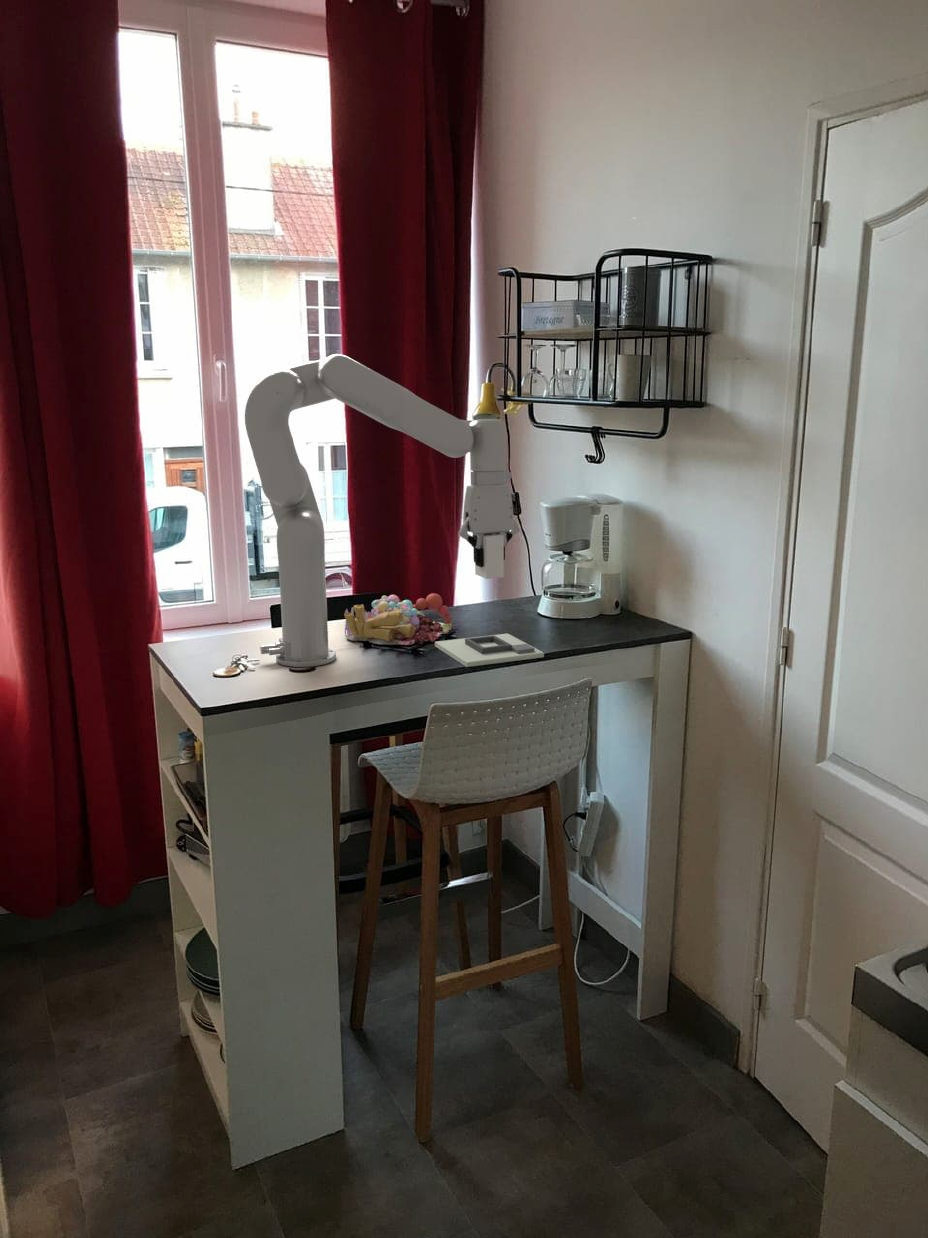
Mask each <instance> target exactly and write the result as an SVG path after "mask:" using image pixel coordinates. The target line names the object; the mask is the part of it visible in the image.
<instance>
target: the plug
mask: <svg viewBox="0 0 928 1238" xmlns="http://www.w3.org/2000/svg"><path fill="white" fill-rule="evenodd" d="M482 548H483V550H484V566H483V567H479V566H476V565H475V564H474V565H475V566H474V567H475V568H474V570H475V573H474V575H476V576H479V577H481V578H484V579H487V580H488V579H489V580H491V579H498V578H504V577H505V573H504V572H505V566H504V565H505V560H504V540H503V535H501V534H498V533H489V534H483V539H482Z"/></svg>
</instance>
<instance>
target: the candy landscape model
mask: <svg viewBox="0 0 928 1238" xmlns="http://www.w3.org/2000/svg"><path fill="white" fill-rule="evenodd" d="M371 607H372V609H371V611H367V610H366V609H365V606H364V604H363V603H362V604H355V605H353V607H351V610H350V612H349V611H348V608H346V609H345V611H344V614H343V615H344V618H345V625H344V635H345V637H346V638H345V639H347V640H349V641H352V642H353V641H355V642H356V641H357V642H358V641H359V642H369V643H372V644H375V645H376V644H377V645H392V646H393V645H403V646H404V645H405V646H409V645H413V644H416V643H417V644H420V645H423V644H424V642H428V641H427V640H430V641H429V642H432V643H433V642H436V641H437V640H438V639H439V638H438V636H441V635H440V634H439V633H446V632H448V631H449V630H450V631H451V630H452V623H451V622H452V616H451V615H449V613H450V612H449V607H448V605H443V598H442V597H441V595H440V594H438V593H435V592H434V593H433V592H432V593H430V594H428V595H427V596H426V598H423V597H421V598H418V599H417V600H416V602H415V604H413V603H412V601H411V600H409V599H405V600H401V599H400V598H399V596H397V595H396V594H390V595H389V596H387V595H382V596H381V598H380V599H375V600H373V601H372V602H371ZM426 608H427V609H429V610H430V611H437V614H438V616H440V617H442V618H443V622H439V621H434V620H433V619H431V618H430V617H428V616H426V615H425V614H424V613H423V612H422V611H419V610H424V609H426ZM354 613H355V615H354ZM450 631H449V632H450ZM436 639H437V640H436Z"/></svg>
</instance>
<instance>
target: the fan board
mask: <svg viewBox="0 0 928 1238" xmlns="http://www.w3.org/2000/svg"><path fill="white" fill-rule="evenodd" d="M434 647H435V648H437V649H438V650H440V651H442V652H443V653H445V654H446V655H448V656H449V657H451V658H452V659H454V660H456V661H457V662H458V663H460V664H461V665H463V666H464V667H465V668H469V667H479V666H485V665H492V664H493V665H494V664H502V663H508V662H515V661H523V660H524V661H525V660H533V659H541V658H542V659H543V658H545V652H543V651H541V650H539V649H538V648H536V647H534V646H532V645H530V644H529V643H527V642H525V641H523V640H521V639H519V638H518V637H515V636H513V635H512V634H509V633H501V634H499V633H498V634H490V635H485V636H483V635H482V636H481V635H480V636H474V637H465V638H455V639H447V640H439V641H438V640H436V641H434Z"/></svg>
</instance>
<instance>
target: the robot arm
mask: <svg viewBox="0 0 928 1238" xmlns="http://www.w3.org/2000/svg"><path fill="white" fill-rule="evenodd" d="M334 399H336V400H338V401H339V402H341V403H343V404H345V405H346V406H349V407H350V408H352V409H354V410H356V411H358V412H360V413H362V414H364V415H365V416H368V417H369V418H371V419H373V420H375V421H376V422H378V423H380V424H383V425H384V426H386V427H388V428H390V429H392V430H393V429H394V430H396V431H399V432H401V433H403V434H406V435H407V436H410V437H411V438H413V439H415V440H418V441H419V442H421V443H423V444H424V445H427V447H428V446H429V447H431V448H432V449H434V450H436V451H438V452H440V453H441V454H443V455H445V456H447V457H449V458H457V459H458V458H462V457H464V456H465V455H467V454H468V453H470V454H469V456H470V457H469V459H470V460H469V463H470V465H469V466H470V485H467V486H466V489H465V493H464V494H465V495H464V502H463V513H462V515H463V516H462V525H461V526H460V529H459V531H458V532H457V535H458V536H459V537H461V538H462V539H464V540H465V541H467V542H468V543H469V545H470V546H471V547H473V563H474V565H476V566H479V567H483V566H484V550H483V548H482V539H483V534H489V533H498V534H501V535H503V540H504V561H505V560H506V547H507V545H508V543H509V541H510V540H511V539H512V538H513V537H515V535H517V534H518V533H519V532H520V530H521V529H520V526H518V524H517V523H516V521H515V519H514V508H513V507H514V506H513V499H512V493H511V492H512V491H511V488H510V485H509V484H507V483H508V480H509V479H512V478H513V473H512V472H508V470H507V425H506V422H505V421H504V420H503V419H501V418H499V419H498V418H479V419H475V420H467V419H466V420H465V419H459V418H458V417H456V416H454V415H452V414H450V413H448V412H447V411H445V410H443V409H441V408H439V407H437V406H435V405H433V404H431V403H430V402H428V401H427V400H424V399H422V398H421V397H419V396H418V395H416V394H414V393H413V392H412V391H410V390H409V389H407V388H406V387H404V386H402V385H401V384H399V383H396V382H395V381H393V380H391V379H389V378H388V377H385V376H384V375H383V374H380V373H379V372H376V371H374V370H373V369H371V368H369V367H367V366H366V365H364V364H362V363H361V362H358V361H357V360H354V359H353V358H351V357H349V356H347V355H344V354H341V353H335V354H331V355H329V356H327V357H325V358H322V359H318V360H314V361H311V362H307V363H303V364H299V365H295V366H292V367H288V368H278V369H277V368H276V369H274V370H272V371H270V372H268V373H267V374H266V375H264V377H262V378H261V379H260V380H259V381H258V383H256V385H255V386H254V387H253V389H252V390H251V392H250V394H249V395H248V397H247V400H246V401H247V402H246V404H245V410H244V425H245V431H246V435H247V437H248V441H249V444H250V448H251V452H252V455H253V459H254V462H255V466H256V469H257V472H258V474H259V480H260V482H261V488H262V489H261V490H262V491H263V493H264V496H265V497H266V498H267V499H268V501H269V504H270V506H271V511H272V513H273V516H274V519H275V523H276V524H277V525H276V526H277V531H276V551H277V561H278V562H277V563H278V564H277V565H278V575H279V576H278V577H279V596H280V611H281V612H280V614H281V634H282V637H279V638H278V641H277V642H274V643H273V644H269V643H268V644H262V645H260V646H259V647H260V648H259V650H260V653H261V655H267V654H268V656H274V655H275V657H276V659H275V660H276V662H277V663H278V664H280V665H282V666H286V667H291V668H293V667H294V668H308V667H309V668H312V667H319V666H323V665H327V664H329V663H333V662H334V661H335V660H336V658H337V653H336V651H335V650H334V649H332V648H329V630H328V629H329V627H328V604H327V603H328V602H327V601H328V599H327V585H326V583H327V581H326V559H325V558H326V556H325V555H326V553H325V552H326V551H325V550H326V548H325V547H326V546H325V544H326V542H325V541H326V539H325V529H324V522H323V519H322V516H321V513H320V509H319V506H318V503H317V499H316V496H315V493H314V490H313V487H312V486H313V485H312V484H311V480H310V476H309V473H308V471H307V469H306V468H305V466H304V465H303V464H302V463H301V461H300V459H299V455H298V452H297V449H296V447H295V442H294V438H293V435H292V432H291V428H290V425H289V421H290V420H289V418H290V414H291V412H293V411H295V410H299V409H302V408H306V407H309V406H314V405H318V404H321V403H325V402H329V401H332V400H334ZM469 533H472V535H471V534H469Z"/></svg>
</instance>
